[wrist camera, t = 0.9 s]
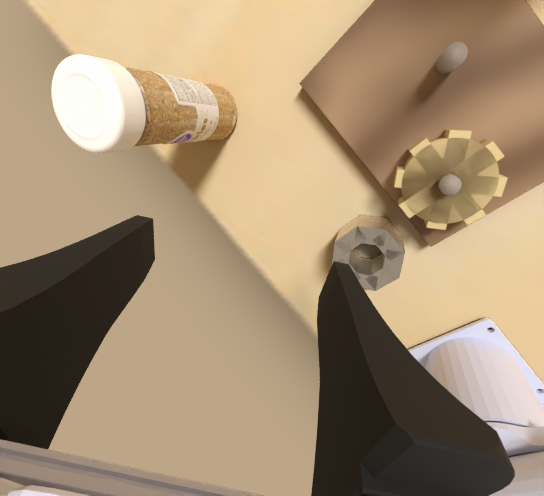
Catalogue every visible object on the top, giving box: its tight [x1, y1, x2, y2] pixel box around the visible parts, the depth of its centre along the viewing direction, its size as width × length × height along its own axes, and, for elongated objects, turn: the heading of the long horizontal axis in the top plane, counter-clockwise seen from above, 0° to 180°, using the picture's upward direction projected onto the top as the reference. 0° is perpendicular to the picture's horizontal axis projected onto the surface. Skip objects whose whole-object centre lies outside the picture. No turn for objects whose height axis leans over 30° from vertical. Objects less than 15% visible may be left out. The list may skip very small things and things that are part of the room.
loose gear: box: [332, 215, 405, 291], centre depth 25 cm, size 5×5×3 cm
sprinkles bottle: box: [52, 54, 237, 153], centre depth 21 cm, size 5×5×13 cm
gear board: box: [299, 0, 544, 247], centre depth 19 cm, size 16×12×4 cm
